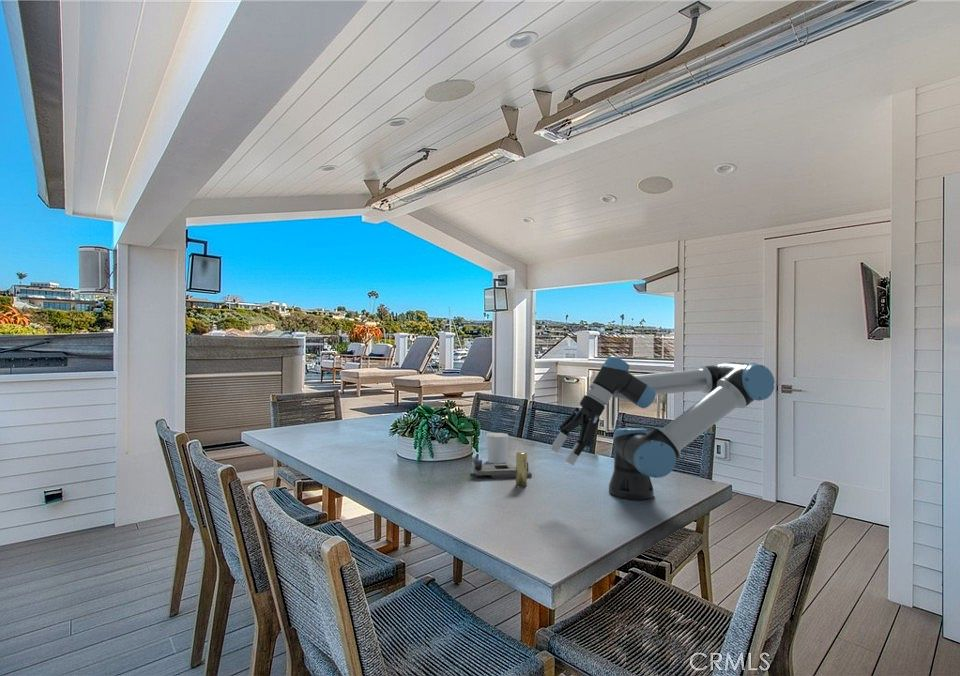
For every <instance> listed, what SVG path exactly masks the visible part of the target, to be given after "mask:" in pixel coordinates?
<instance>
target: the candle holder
mask: <svg viewBox="0 0 960 676" xmlns="http://www.w3.org/2000/svg"><path fill="white" fill-rule="evenodd" d="M508 444H509V434H508V433H506V432H490V433H489V432H488V433H486V450H487V462H488V463H489V464H507V461H508V448H509V447H508V446H509V445H508Z"/></svg>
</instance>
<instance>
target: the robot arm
mask: <svg viewBox="0 0 960 676" xmlns="http://www.w3.org/2000/svg"><path fill="white" fill-rule="evenodd" d="M629 369H630V365H629V364H628V363H627V361H625V360H623V359H622V358H620V357H618V356H616V355H615V356H614V355H610V356H608V357H607V358H606V359H605V361H604V362H603V364H602V365H601V368H600V370H599V371H598V372H597V374H596V376H595V377H594V380H593V381H592V383H591V384H589V385H588V389H587V391H586V394H585V395H584V396H583V397H582V399H581V400H580V402H579V405H580V407H581V408H579V407H578V406H577V407H575V409H574V410H573V412H572V413H571V414H570V415H569V416H568V417H567V418H566V419H565V420H564V421H563V422H562V423H561V425H559V427H558V429H560V432H559V434H557V437H556V438H555V440H554V441H553V443H552V444H551V447H550V450H552V451H554V452H555V453H559V452H560V449H561V448H562V446H563V445H564V443H565V441H566V440H567V438H568V437H569V435H570V433H571V432H573V431H574V430H575V429H576V428H578V427H580V431H579V437H578V440H576V442H575V444H574V445H573V447H572V449H571V451H570V452H569V454H568V456H567V457H566V459H565V462H567V463H568V464H571V466H575V463H576V462H577V460H578V458H579V456H581V453H582V452H583V450H584V449H585V448H586V447H587V448H590V447H591V446H592V442H593V439H594V435H595V432H596V428H597V426H598V424H599V422H600V418H598V417H600V416H601V415H602V414H603V412H604V410H605V408H606V407H605V406H607V405H608V403H609V402H610V401H611V399H612V397H614V398H615V399H616V398H617V399H622V400H625V401H627V402H630V403H632V404H634V405H635V406H637V407H639V408H641V409H647V408H648V407H650V406H651V405H652V404H653V402H654V401H655V399H656V396H657V395H667V394H668V395H669V394H675V393H676V394H677V393H678V394H679V393H689V392H699V391H700V392H702V393H704V394H706V395H705V396H704V397H702V398H700V400H698V401H697V402H695V403H694V404H693V405H692V406H690V407H689V408H688V409H686V410H685V411H684V412H682V413H681V414H680V415H678V416H677V417H675V418H674V419H673V420H671V421H670V422H669V423H668V424H666V425H665V426H664V427H662V428H661V427H655V428H653V429H652V430H650V431H649V429H647V428H642V427H641V428H640V427H637V428H635V427H634V428H633V427H623V428H617V429H615V431H614V435H613V436H614V437H613V440H614V442H613V444H614V445H613V449H614V450H613V451H614V454H613V456H614V457H613V463H614V464H613V473H612V475H611V478H610V482H609V484H608V492H609V494H611V495H612V496H614V497H617V498H621V499H625V500H632V501H633V500H636V501H640V500H641V501H642V500H650V499H652V498H653V497H654V496H655V495H654V486H653V483H652V480H651V478H655V479H660V478H664V477H665V476H668V475H669V474H670V473H671V472H672V471H674V468H675V466H676V465H675V464H676V462H677V460H678V459H680V458H681V456H682V455H681V454H682V453H681V452H682V449H684V448H685V447H687V446H688V445H689V444H691V443H692V442H693V441H694V440H696V439H697V438H698V437H699V436H701V435H702V434H704V433H705V432H706V431H708V430H709V429H710V428H711V427H713V426H714V425H715V424H717V423H719V421H722V419H723V418H725V417H726V416H727V415H729V414H730V413H731V412H733V410H735V409H737V408H738V409H744V408H746V407H747V406H748V405H750V404H751V403H753V402H754V401H757V402H758V401H764V400H767V399H768V398H769V397H771V395H772V394H773V392H774V390H775V377H774V374H773V373H772V371H771V370H770V369H769V368H768V367H767V366H765V365H763V364H759V363H757V362H756V363H755V362H751V363H749V362H748V363H747V362H746V363H745V362H734V361H733V362H732V361H730V362H721V363H717V364H710V365H706V366H705V365H704V366H700V367H698V369H692V370H691V369H690V370H680V371H668V372H659V373H645V374H637V375H636V374H634V375H633V374H631V373H630V371H629ZM597 416H598V417H597Z"/></svg>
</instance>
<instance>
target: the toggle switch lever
mask: <svg viewBox="0 0 960 676" xmlns="http://www.w3.org/2000/svg"><path fill="white" fill-rule="evenodd" d="M515 455H516V456H515V467H516V478H515V486H516V487H518V486H519V488H525V487H524V486H526V487H527V486H528V485H527V484H528V483H527V482H528V479H527V478H528V477H527V462H528V453H527V452H525V451H516V453H515Z"/></svg>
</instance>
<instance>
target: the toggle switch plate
mask: <svg viewBox="0 0 960 676" xmlns="http://www.w3.org/2000/svg"><path fill="white" fill-rule="evenodd" d="M471 468H472V470H473V472H474V474H475V475H476V476H489V477H490V478H491V479H492V480H493V479H494V480H496V479H497V480H498V479H516V466H514V465H512V463H503V464H493V463H489V464H483V459H474V464H472V465H471ZM532 475H533V474H532V472H531V471H530V470H529V462H528V461H527V478H532Z"/></svg>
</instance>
